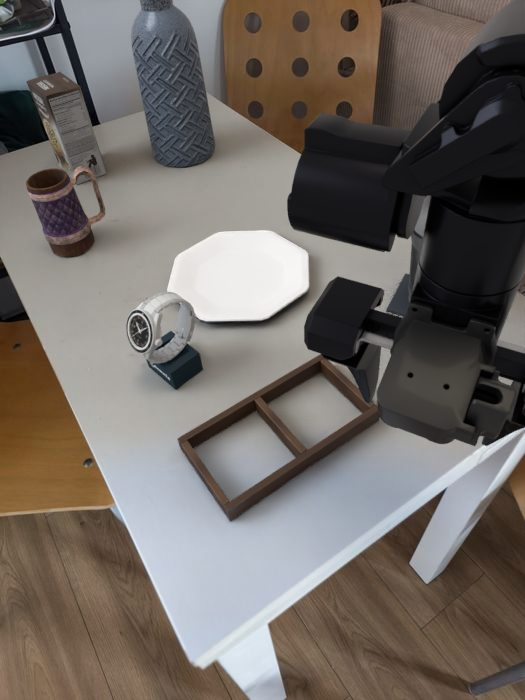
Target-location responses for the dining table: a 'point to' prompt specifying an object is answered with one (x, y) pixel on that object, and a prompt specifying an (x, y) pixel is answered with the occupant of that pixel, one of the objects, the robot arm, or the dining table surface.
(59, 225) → the mug
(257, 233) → the plate
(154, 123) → the vase
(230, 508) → the frame
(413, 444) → the dining table surface
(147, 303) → the watch
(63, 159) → the coffee box
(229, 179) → the dining table surface
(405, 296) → the coaster
